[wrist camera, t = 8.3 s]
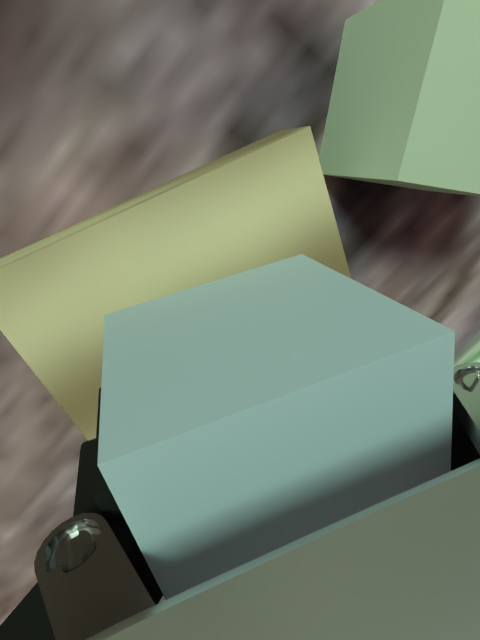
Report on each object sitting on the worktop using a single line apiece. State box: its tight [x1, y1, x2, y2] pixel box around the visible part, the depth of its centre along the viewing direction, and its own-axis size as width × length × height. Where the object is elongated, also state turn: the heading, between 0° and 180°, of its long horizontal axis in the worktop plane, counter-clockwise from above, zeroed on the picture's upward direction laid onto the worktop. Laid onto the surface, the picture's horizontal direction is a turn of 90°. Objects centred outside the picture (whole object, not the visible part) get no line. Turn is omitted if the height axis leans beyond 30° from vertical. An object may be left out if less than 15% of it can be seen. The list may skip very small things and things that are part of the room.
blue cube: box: [97, 254, 455, 600], centre depth 10 cm, size 6×6×6 cm
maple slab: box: [0, 126, 351, 441], centre depth 15 cm, size 11×11×3 cm
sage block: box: [319, 0, 480, 197], centre depth 13 cm, size 5×5×5 cm
